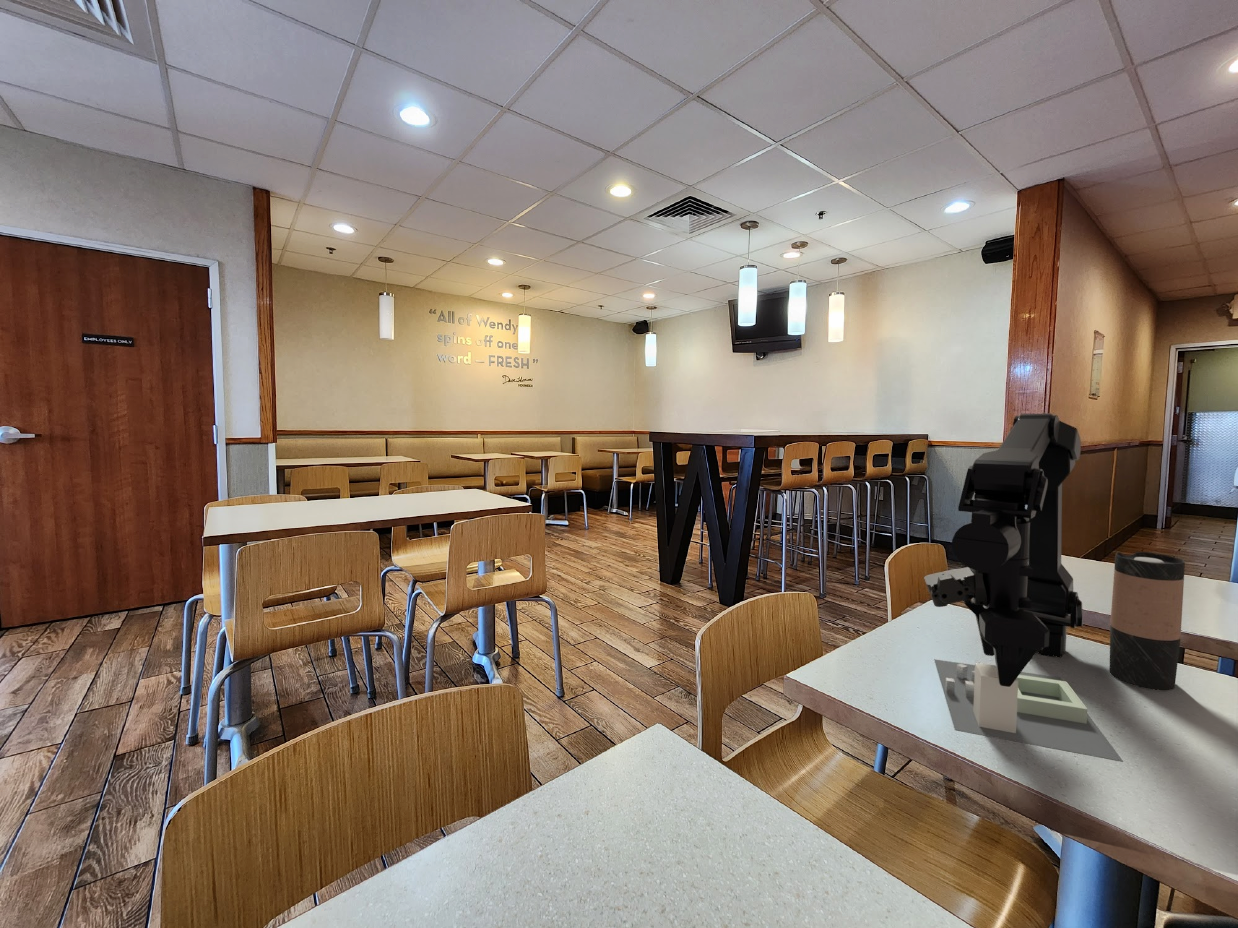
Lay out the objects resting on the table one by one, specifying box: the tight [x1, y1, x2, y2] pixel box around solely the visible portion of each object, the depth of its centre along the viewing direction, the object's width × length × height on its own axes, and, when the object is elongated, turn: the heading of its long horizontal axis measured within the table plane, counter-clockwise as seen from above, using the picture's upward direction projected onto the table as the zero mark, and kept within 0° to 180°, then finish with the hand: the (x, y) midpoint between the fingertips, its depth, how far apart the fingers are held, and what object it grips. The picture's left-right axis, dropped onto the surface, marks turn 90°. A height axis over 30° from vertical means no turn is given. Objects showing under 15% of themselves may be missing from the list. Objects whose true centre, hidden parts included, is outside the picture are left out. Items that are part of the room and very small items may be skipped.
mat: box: [934, 658, 1124, 762], centre depth 77 cm, size 22×17×1 cm
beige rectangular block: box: [973, 662, 1018, 733], centre depth 71 cm, size 4×4×7 cm
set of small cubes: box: [946, 663, 975, 698], centre depth 82 cm, size 10×9×2 cm
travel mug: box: [1109, 551, 1186, 692], centre depth 82 cm, size 8×8×20 cm
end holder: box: [1017, 675, 1088, 724], centre depth 76 cm, size 8×8×2 cm
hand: (996, 669), depth 71 cm, fingers open, 9 cm apart
